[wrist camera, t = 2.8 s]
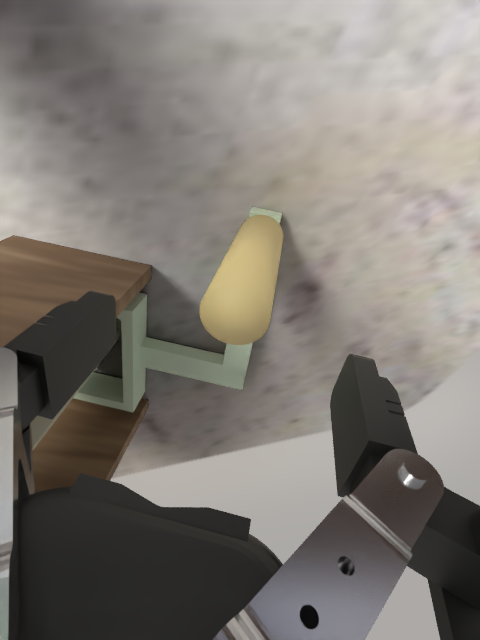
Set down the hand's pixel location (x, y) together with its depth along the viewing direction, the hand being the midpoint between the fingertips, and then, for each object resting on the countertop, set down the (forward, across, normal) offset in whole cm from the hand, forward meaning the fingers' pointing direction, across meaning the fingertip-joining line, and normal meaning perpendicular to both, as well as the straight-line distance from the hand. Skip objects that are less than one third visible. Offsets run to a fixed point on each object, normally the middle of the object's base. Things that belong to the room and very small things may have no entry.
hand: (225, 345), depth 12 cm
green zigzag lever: (+11, +8, +7) cm, 15 cm away
